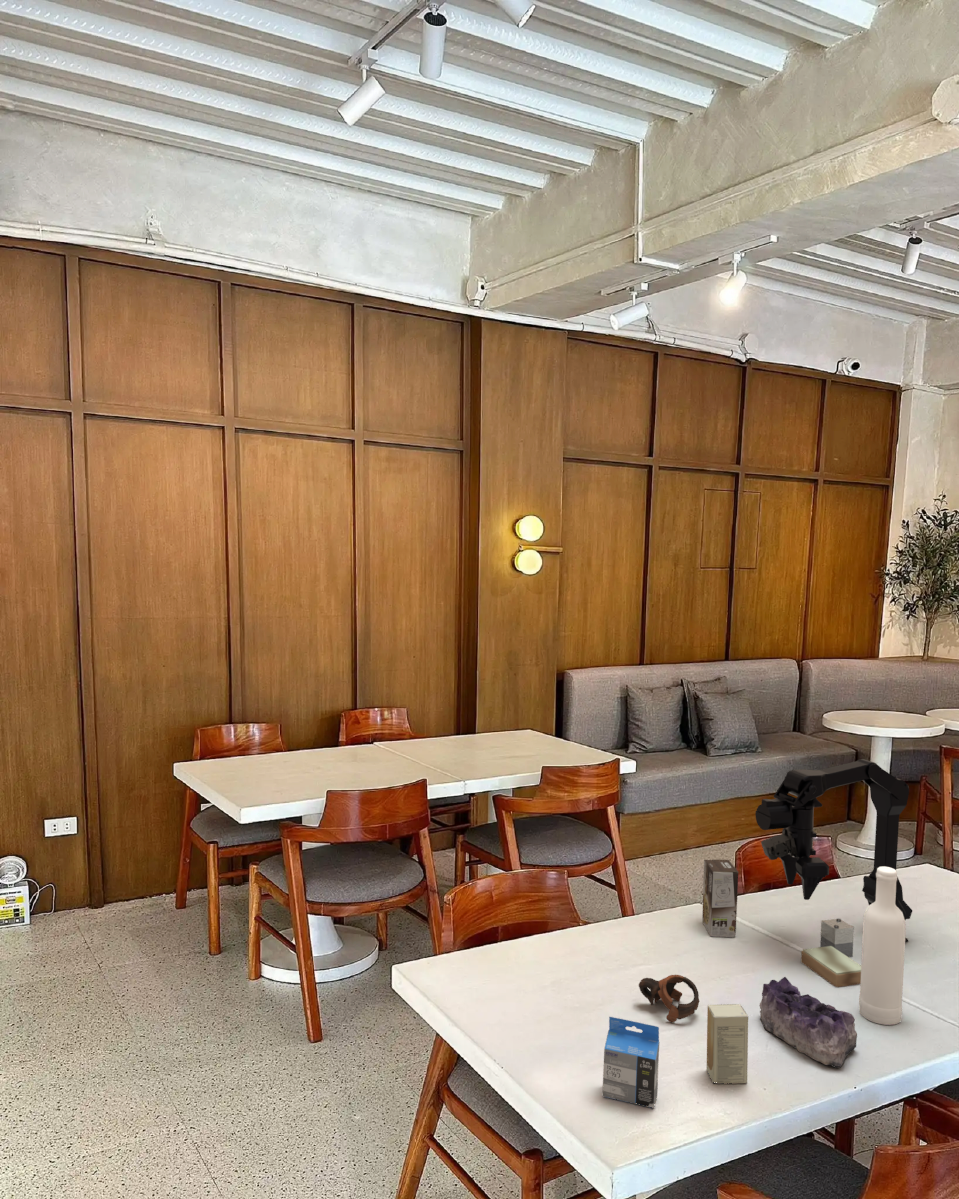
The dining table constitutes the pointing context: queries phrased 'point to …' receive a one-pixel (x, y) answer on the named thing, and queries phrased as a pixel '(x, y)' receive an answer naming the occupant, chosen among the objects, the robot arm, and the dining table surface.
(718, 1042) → the skincare box
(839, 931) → the block
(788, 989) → the geode
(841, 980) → the riser
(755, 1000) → the dining table surface
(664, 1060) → the dining table surface
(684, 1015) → the brown curved loop piece
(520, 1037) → the dining table surface
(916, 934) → the dining table surface
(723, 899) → the coffee box
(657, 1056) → the label tape box
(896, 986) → the bottle
